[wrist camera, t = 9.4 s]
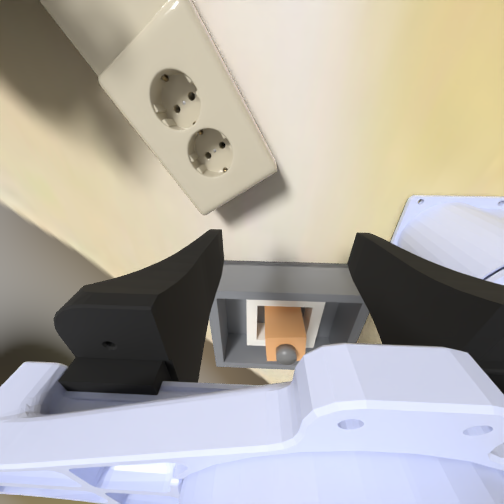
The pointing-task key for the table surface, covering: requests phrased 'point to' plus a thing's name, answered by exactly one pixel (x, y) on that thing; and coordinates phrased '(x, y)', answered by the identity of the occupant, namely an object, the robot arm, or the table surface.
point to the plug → (284, 334)
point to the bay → (286, 295)
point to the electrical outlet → (171, 91)
